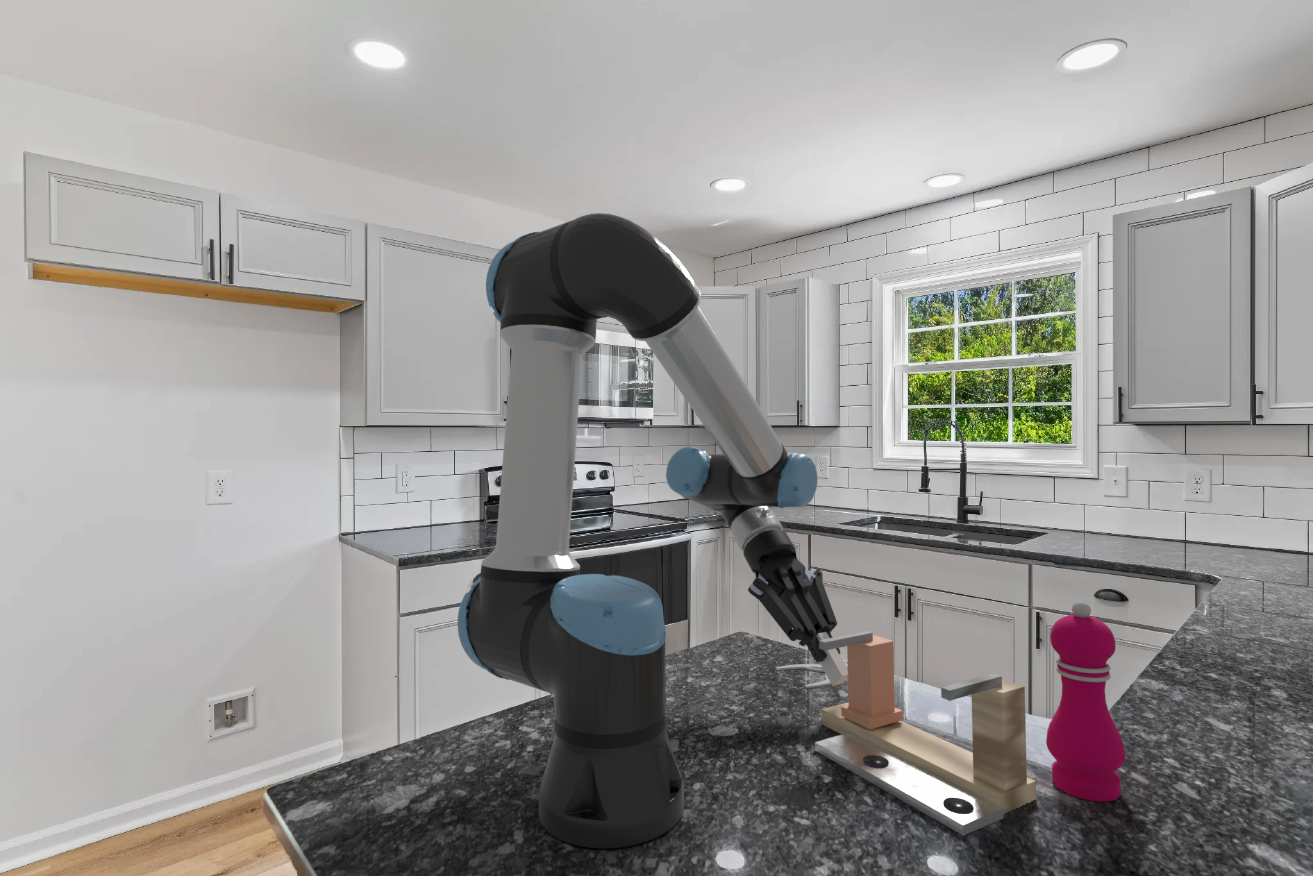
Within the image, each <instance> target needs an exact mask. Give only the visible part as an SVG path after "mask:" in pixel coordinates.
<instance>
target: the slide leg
mask: <svg viewBox="0 0 1313 876" xmlns="http://www.w3.org/2000/svg"><path fill="white" fill-rule="evenodd" d="M844 647H846V648H847V649H846V650H847V651H846V653H847V656H846V657H847V658H846V659H848V677H847V692H848V694H847V695H848V696H847V697H848V698H847V700H848V702H847V703H848V705H845V706H841V716H843V717H845V718H847V719H849V720H851V721H853V722H855V723H857V724H860V725H862V726H864V727H866V728H868V729H870V730H871V729H874V728H877V727H881V726H884V725H888V724H891V723H895V722H898V721H903V720H904V719H903V710H902V709H900V708H897V707H896V706H895V703H896V702H895V699H896V697H895V664H894V662H895V661H894V659H895V657H894V641H893V640H891V639H889V638H885V637H882V636H879V635H875V634H874V633H873V632H871V631H868V630H864V631H860V632H855V633H849V634H845V635H840V636H834V637H833V638H829V639H824V640H819V649H822V650H824V651H826V650H830V649H835V648H839V649H840V648H844Z"/></svg>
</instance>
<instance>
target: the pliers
mask: <svg viewBox="0 0 1313 876" xmlns="http://www.w3.org/2000/svg"><path fill="white" fill-rule="evenodd" d="M842 660H843V662H845V663H844V664H845V665H846V667H847V669H848V664H847V663H848V659H847V658H845V659H842ZM775 670H776V671H778V672H779V671H788V670H807V671H811V672H815V673H816V672H817V673H825V671H824V670H823V668H822V666H821V664H820V663H818V664H817V663H803V664H802V663H801V664H799V663H798V664H797V663H796V664H789V665H782V666H776V667H775ZM824 678H825V679H824V680H821V681H818V682H813V683H809V684H805V685H804V688H805V689H806V690H807V689H815V688H821V687H828V686H832V684H831V682H830V681H829V679H828V677H827V675H826V674H825V676H824Z"/></svg>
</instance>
